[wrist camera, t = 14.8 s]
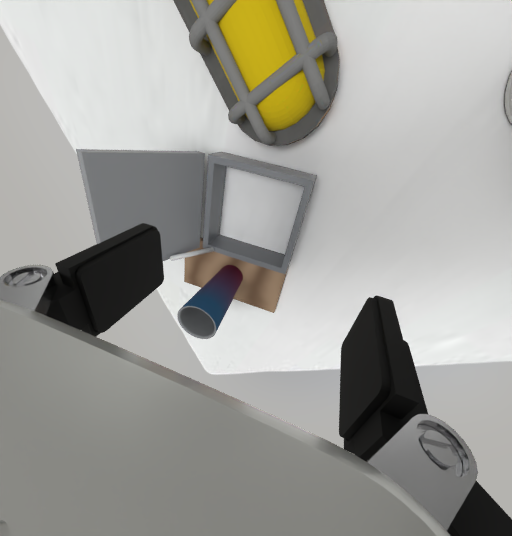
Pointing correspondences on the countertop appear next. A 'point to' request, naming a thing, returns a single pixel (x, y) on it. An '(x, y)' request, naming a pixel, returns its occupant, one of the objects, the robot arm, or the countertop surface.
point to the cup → (210, 303)
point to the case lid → (145, 194)
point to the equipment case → (214, 211)
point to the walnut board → (252, 286)
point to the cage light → (268, 62)
